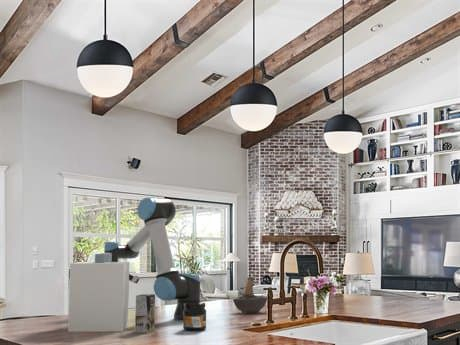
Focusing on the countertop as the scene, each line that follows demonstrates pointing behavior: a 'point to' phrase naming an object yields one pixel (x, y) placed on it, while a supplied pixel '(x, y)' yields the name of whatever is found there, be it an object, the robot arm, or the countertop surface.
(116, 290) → the shelf unit
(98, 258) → the slate carton
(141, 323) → the coffee box
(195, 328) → the supplement container
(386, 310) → the countertop surface
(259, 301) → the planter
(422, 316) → the countertop surface
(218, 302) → the countertop surface
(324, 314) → the countertop surface
